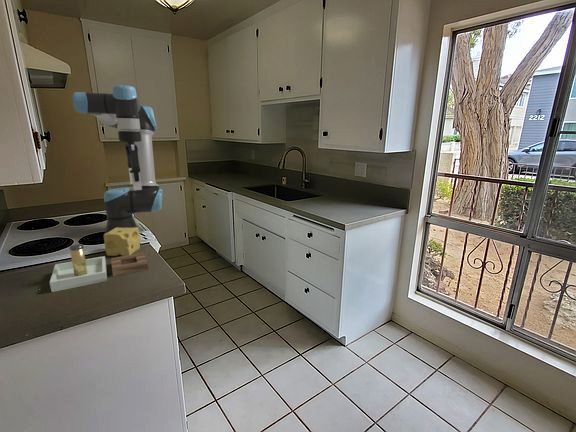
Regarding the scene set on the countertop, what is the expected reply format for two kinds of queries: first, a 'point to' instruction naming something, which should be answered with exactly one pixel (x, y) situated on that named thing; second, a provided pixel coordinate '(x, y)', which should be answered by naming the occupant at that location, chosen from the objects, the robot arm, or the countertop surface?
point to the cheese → (122, 241)
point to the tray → (67, 280)
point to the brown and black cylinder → (78, 259)
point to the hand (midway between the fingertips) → (136, 186)
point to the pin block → (129, 264)
